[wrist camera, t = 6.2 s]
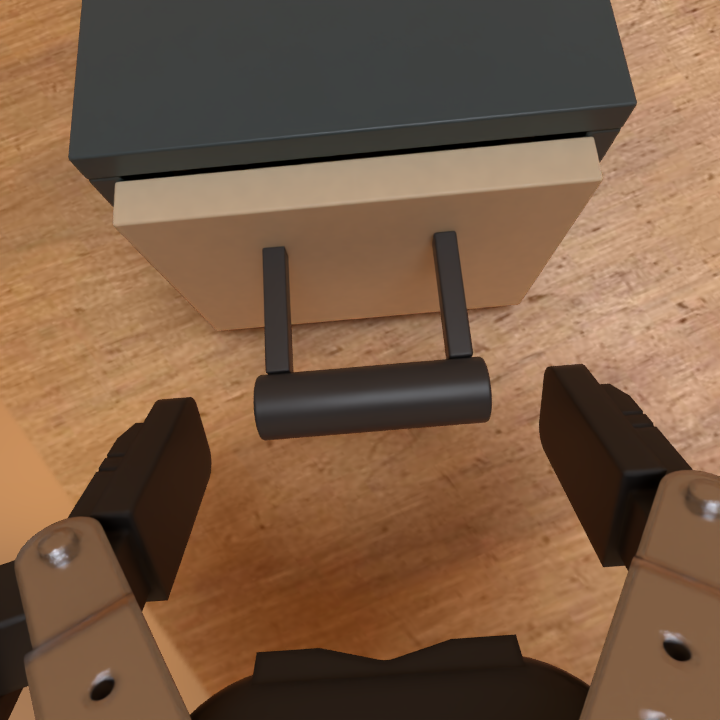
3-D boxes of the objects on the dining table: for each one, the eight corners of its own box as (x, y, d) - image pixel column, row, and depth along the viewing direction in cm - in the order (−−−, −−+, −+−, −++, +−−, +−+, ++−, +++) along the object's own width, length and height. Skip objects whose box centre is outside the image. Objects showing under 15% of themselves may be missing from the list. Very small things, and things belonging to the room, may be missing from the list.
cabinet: (524, 283, 20) (638, 103, 11) (208, 311, 21) (67, 159, 12) (474, -3, 24) (529, -312, 15) (209, 25, 25) (104, -261, 15)
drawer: (542, 440, 18) (655, 395, 10) (216, 466, 18) (97, 440, 11) (471, 20, 23) (513, -216, 15) (216, 46, 23) (135, -173, 16)
